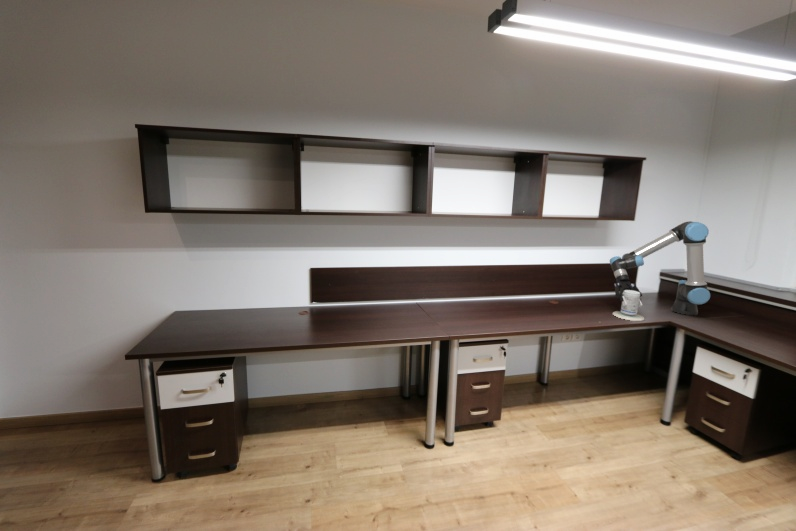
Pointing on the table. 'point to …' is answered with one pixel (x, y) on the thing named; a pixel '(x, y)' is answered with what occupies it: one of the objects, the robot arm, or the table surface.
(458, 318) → the table surface
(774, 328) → the table surface
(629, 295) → the supplement tub
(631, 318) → the ceramic plate
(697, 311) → the robot arm
